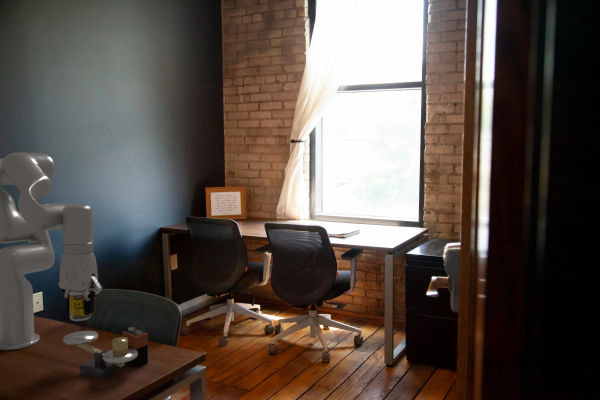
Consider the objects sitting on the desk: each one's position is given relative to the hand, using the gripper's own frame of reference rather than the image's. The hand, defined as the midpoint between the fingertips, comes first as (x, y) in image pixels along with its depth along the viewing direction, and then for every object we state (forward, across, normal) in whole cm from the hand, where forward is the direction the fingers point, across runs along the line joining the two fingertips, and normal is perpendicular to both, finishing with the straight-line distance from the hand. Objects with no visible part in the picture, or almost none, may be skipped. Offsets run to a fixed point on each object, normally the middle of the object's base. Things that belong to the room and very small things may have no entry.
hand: (80, 311), depth 135 cm
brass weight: (+10, +14, 0) cm, 17 cm away
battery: (+16, +12, +8) cm, 22 cm away
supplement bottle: (+2, 0, 0) cm, 2 cm away
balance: (+16, +7, 0) cm, 18 cm away
